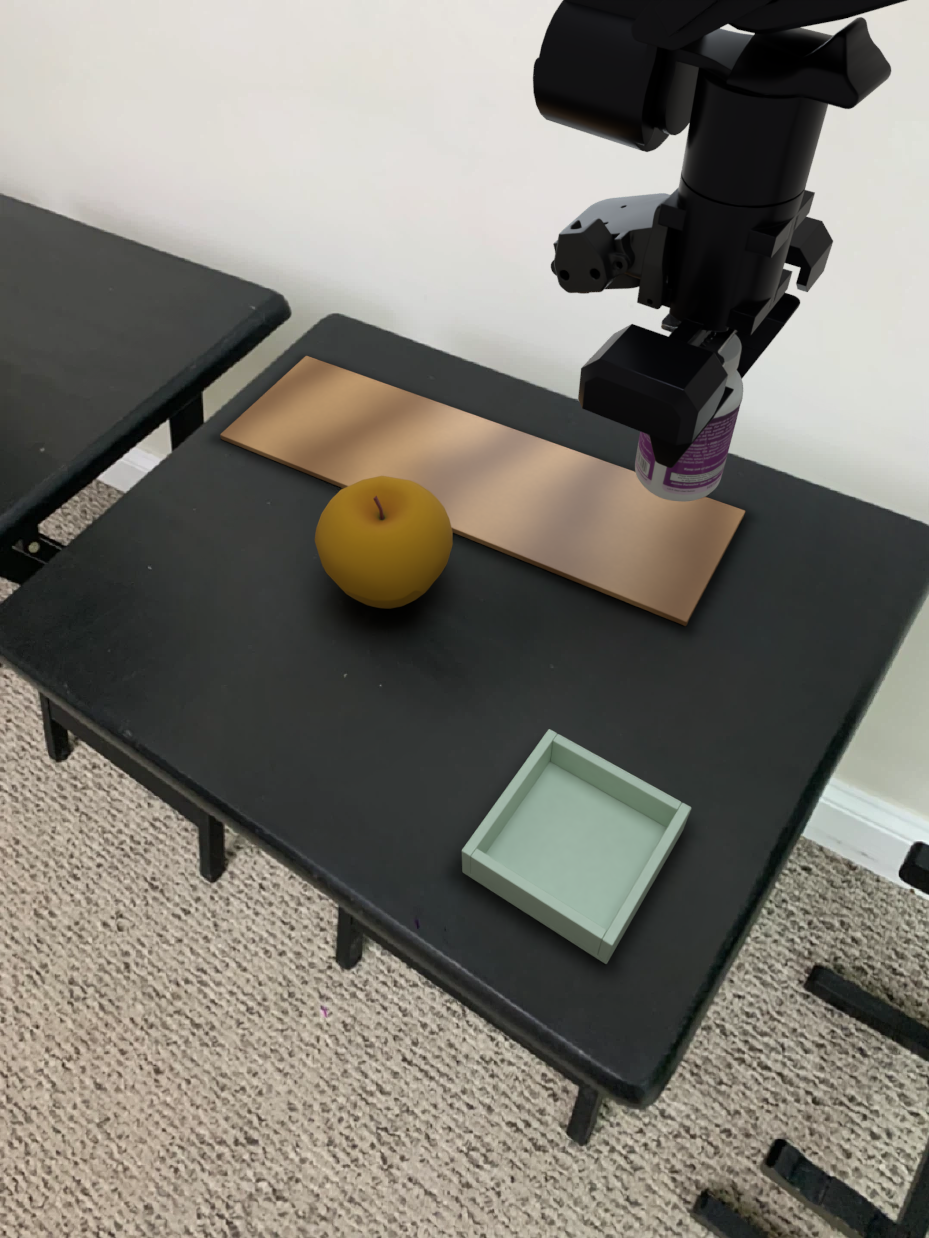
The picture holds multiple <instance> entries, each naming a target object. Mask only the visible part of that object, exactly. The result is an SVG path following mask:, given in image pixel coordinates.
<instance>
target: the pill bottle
mask: <svg viewBox="0 0 929 1238" xmlns="http://www.w3.org/2000/svg"><path fill="white" fill-rule="evenodd" d="M671 333H672V332H669V335H668V336H670V334H671ZM719 354H720V355H721V356H723V358H724V359H725V363H724V369H725V370H726V372H727V374H728V378H727V382H726V386H727V387H729V388H732V389H734V391H733V393H732V395H731V396H730V397H729V398H728V400H727V401H726V402H725V404H724V405H723V406H722V408H721V409H720V410H719V411H718V413H717V414H716V415H715V417H714V418H713V419H712V420H711V421H710V423H709V424H708V425H707V426H706V428H705V429H704V430H703V431H702V432H701V434H700V435H699V436H698V437H697V439H696V440H695V441H694V442H693V443H692V444H691V446H690V447H689V448H688V449H687V451H686V452H685V453H684V454H683V456H682V457H681V458H680V459H679V461H678V462H677V463H676V464H675V466H674V467H673V468H668V467H666V466H663V465H661V464H658V463H657V462H656V461H655V458H654V454H653V449H652V445H651V441H650V437H649V435H648V434H645V433H643V432H640V431H639V436H638V443H637V447H636V448H637V449H636V454H635V455H636V456H635V462H634V472H636V475H637V478H638V479H639V481H640V482H641V483H642V485H643V486H644V487H645V488H646V489H647V490H649V491H650V492H651V493H653V494H654V495H656V496H658V497H660V498H663V499H667V500H672V501H693V500H697V499H700V498H703V497H707V496H709V495H710V494H711V493H713V492H714V490H716V489H717V487H718V486H719V485H720V482H721V479H722V477H723V473H724V469H725V466H726V462H727V458H728V454H729V451H730V447H731V444H732V439H733V435H734V431H735V428H736V424H737V420H738V415H739V411H740V409H741V404H742V403H743V402H742V401H743V397H744V382H743V378H742V379H741V376H740V374H739V373H738V371H737V368H738V365H739V359H740V354H741V342H740V340H739V338H738V337H737V336H736V335H734V336H733V337H732V338H731V340H730V341H729V342H728V343H727V345H726V346H725V347H724V348H723V349H722V351H721V352H720V353H719Z"/></svg>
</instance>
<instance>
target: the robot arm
mask: <svg viewBox="0 0 929 1238" xmlns="http://www.w3.org/2000/svg"><path fill="white" fill-rule="evenodd" d="M907 1H908V0H561V2H560V4H559V5H558V6H557V8H556V10H555V12H554V13H553V15H552V17H551V19H550V21H549V22H548V23H549V24H548V25H547V28H546V30H545V33H544V36H543V39H542V43H541V45H540V51H539V55H538V57H536V59H535V60H534V62H533V71H532V89H533V91H532V92H533V97H534V102H535V107H536V108H537V110H538V112H539V114H540V115H541V116H542V117H543V118H544V119H545V120H546V121H549V122H552V123H555V124H558V125H562V126H564V127H567V128H571V129H574V130H576V131H580V132H583V133H586V134H588V135H589V134H590V135H593V136H595V137H597V138H600V139H601V138H602V139H604V140H608V141H611V142H613V143H616V144H620V145H623V146H626V147H628V148H632V149H635V150H637V151H641V152H645V153H649V152H653V151H655V150H656V149H658V148H660V147H661V145H663V143H664V142H665V141H666V140H667V139H668V138H669V137H670V136H677V135H679V134H681V133H682V132H683V131H684V130H685V129H687V127H688V130H687V135H686V140H685V147H684V154H683V159H682V166H681V172H680V177H679V183H678V187H677V188H676V189H675V190H674V191H673V192H672V193H671V194H669V193H664V192H663V193H661V192H660V193H649V194H639V195H629V196H619V197H618V196H617V197H610V198H605V199H602V200H598V201H596V202H595V203H592V204H590V206H588V207H587V208H585V210H584V211H582V212H581V213H580V214H579V215H578V216H577V217H576V218H575V219H573V220H572V221H571V222H570V223H569V224H568V225H566V227H565V228H563V229H562V230H561V232H559V233H558V236H557V240H555V242H554V243H553V249H554V258H553V260H552V261H551V263H550V270H551V272H552V274H554V275H555V276H556V278H557V283H558V285H559V287H560V288H561V289H563V291H565V292H566V293H568V294H583V295H584V294H587V295H588V294H590V293H591V294H592V293H602V292H604V290H623V289H624V290H630V289H636V288H638V291H637V300H636V303H637V304H639V305H643V306H645V307H648V308H651V309H654V310H660V309H661V308H662V307H666V308H669V309H668V313H667V314H666V315H665V317H664V318H663V319H662V320H661V322H660V323H661V324H660V329H662V330H664V331H666V332H668V333H669V335H670V336H669V335H666V334H663V333H660V332H657V331H654V330H652V329H648V328H646V327H642V326H640V325H637V324H634V323H631V324H628V325H627V326H625V327H623V328H622V329H620V330H618V331H616V332H614V333H613V334H612V335H611V336H610V337H609V338H608V339H607V340H606V341H605V342H604V343H603V344H602V345H601V347H600V348H599V349H598V350H597V351H596V352H594V354H593V355H592V356H591V357H590V358H589V359H588V360H587V361H586V362H585V363H584V365H582V367H581V368H580V375H579V386H578V395H577V396H578V397H577V400H578V402H579V404H580V406H581V407H580V408H581V409H582V410H585V411H587V412H590V413H592V414H594V415H598V416H600V417H603V418H605V419H607V420H610V421H613V422H615V423H618V424H620V425H623V426H625V427H628V428H630V429H633V430H636V431H638V432H639V433H640V432H643V433H645V434H648V435H649V437H650V441H651V445H652V449H653V454H654V458H655V461H656V462H657V463H658V464H661V465H663V466H666V467H668V468H673V467H674V466H675V464H676V463H677V462H678V461H679V459H680V458H681V457H682V456H683V454H684V453H685V452H686V451H687V449H688V448H689V447H690V446H691V444H692V443H693V442H694V441H695V440H696V439H697V437H698V436H699V435H700V434H701V432H702V431H703V430H704V429H705V428H706V426H707V425H708V424H709V423H710V421H711V420H712V419H713V418H714V417H715V415H716V414H717V413H718V411H719V410H720V409H721V408H722V406H723V405H724V404H725V402H726V401H727V400H728V398H729V397H730V396H731V395H732V393H733V391H734V389H732V388H729V387H727V386H726V382H727V378H728V374H727V372H726V370H725V369H724V363H725V359H724V358H723V356H721V355H720V354H719V353H720V352H721V351H722V349H723V348H724V347H725V346H726V345H727V343H728V342H729V341H730V340H731V338H732V337H733V336H734V335H736V336H737V337H738V338H739V340H740V342H741V354H740V359H739V365H738V368H737V371H738V373H739V374H740V376H741V379H742V380H743V378H744V377H745V376H746V374H748V372H749V371H750V369H751V368H752V367H753V366H754V365H755V364H756V362H757V361H758V359H759V358H760V357H761V356H762V354H763V353H764V352H765V351H766V350H767V348H768V347H769V346H770V345H771V343H772V342H773V341H774V339H775V338H776V337H777V336H778V335H779V333H780V332H781V331H782V330H783V329H784V327H785V325H786V324H787V323H788V322H789V321H790V319H791V318H792V317H793V315H794V314H795V313H796V311H797V310H798V309H799V307H800V305H801V299H800V298H799V297H798V296H796V295H794V294H791V293H788V292H787V291H788V289H789V287H790V286H789V285H790V283H791V279H792V275H793V272H794V271H793V270H790V269H786V268H784V267H785V264H787V265H789V266H794V267H796V268H799V272H798V275H797V278H796V282H795V285H796V289H797V290H799V291H802V292H805V293H809V291H810V290H811V289H812V287H814V284H815V283H817V281H818V280H819V278H820V277H821V275H822V274H824V272H825V268H826V266H827V262H828V259H829V256H830V254H831V249H832V247H833V243H834V240H833V238H832V236H831V234H830V232H829V231H828V229H827V227H826V225H825V224H824V222H823V220H821V219H816V218H814V217H810V216H808V215H809V214H810V212H811V208H812V205H813V201H814V197H815V194H816V192H814V191H811V190H807V189H806V187H807V184H808V180H809V176H810V172H811V169H812V166H813V162H814V159H815V154H816V151H817V147H818V143H819V140H820V137H821V132H822V130H823V126H824V122H825V118H826V114H827V111H828V107H829V106H833V107H837V108H841V109H844V110H851V109H853V108H856V106H858V104H859V103H861V102H862V101H863V100H865V99H866V98H867V97H868V96H869V95H871V94H872V93H873V92H874V91H876V90H877V89H878V88H879V87H880V86H881V85H882V84H884V83H885V82H886V81H887V80H889V78H890V77H891V74H892V66H891V64H890V62H889V61H888V59H887V58H886V56H885V54H884V53H883V52H882V50H881V49H880V48H879V46H877V44H876V43H875V42H874V41H873V39H872V37H871V34H870V31H869V27H868V22H867V20H866V18H864V17H862V16H860V15H863V14H866V13H869V12H874V11H876V10H880V9H883V8H886V7H887V8H888V7H890V6H894V5H897V4H900V3H904V2H907ZM856 16H860V17H856ZM854 17H856V18H854ZM850 18H854V19H853V20H852V21H850V22H849V23H848V24H847V25H845V26H844V27H842V28H841V29H839V30H838V31H837V32H836V33H835V34H833V35H832V34H829V33H824V32H821V31H815V30H812V29H808V28H805V27H812V26H816V25H822V24H826V23H827V24H828V23H833V22H837V21H842V20H845V19H850ZM727 25H729V26H731V27H732V28H734V29H736V30H738V31H741V32H737V31H733V30H729V29H728V30H727V29H724V28H723V27H725V26H727ZM742 32H746V33H742ZM749 33H751V34H749ZM671 332H672V333H671ZM670 333H671V334H670Z"/></svg>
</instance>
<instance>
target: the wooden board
mask: <svg viewBox="0 0 929 1238" xmlns="http://www.w3.org/2000/svg"><path fill="white" fill-rule="evenodd" d="M219 438H220V439H221V440H222V441H225V442H227V443H229V444H232V445H235V446H237V447H240V448H242V449H245V450H247V451H249V452H252V453H255V454H257V455H259V456H262V457H265V458H267V459H269V460H272V461H275V462H277V463H278V464H282V465H284V466H287V467H289V468H292V469H293V470H297V471H299V472H302V473H304V474H306V475H309V476H311V477H314V478H317V479H319V480H322V481H324V482H327V483H329V484H331V485H333V486H337V487H338V488H341V489H344V488H346V487H348V486H350V485H352V484H354V483H357V482H359V481H361V480H364V479H369V478H373V477H378V476H387V477H393V478H399V479H405V480H411V481H413V482H415V483H418V484H419V485H421V486H422V487H424V488H425V489H427V490H428V491H430V492H431V493H432V494H433V495H434V496H435V497H436V498H437V499H438V500H439V501H440V503H441V504H442V505H443V506H444V508H445V510H446V512H447V515H448V517H449V520H450V523H451V527H452V533H453V534H455V535H457V536H460V537H464V538H466V539H469V540H471V541H473V542H476V543H478V544H480V545H483V546H485V547H488V548H491V549H493V550H496V551H498V552H499V553H503V554H505V555H507V556H510V557H513V558H515V559H518V560H520V561H523V562H525V563H528V564H531V565H532V566H535V567H538V568H540V569H542V570H545V571H548V572H550V573H551V574H555V575H557V576H560V577H562V578H565V579H568V580H570V581H572V582H575V583H577V584H580V585H582V586H585V587H587V588H590V589H591V590H595V591H597V592H599V593H602V594H604V595H607V596H610V597H612V598H614V599H617V600H620V601H622V602H625V603H627V604H629V605H632V606H635V607H637V608H638V609H642V610H644V611H647V612H649V613H652V614H654V615H657V616H659V617H662V618H664V619H666V620H669V621H671V622H674V623H677V624H679V625H682V626H684V627H686V626H687V625H688V623H689V622H690V619H691V617H692V615H693V614H694V612H695V610H696V608H697V606H698V604H699V602H700V600H701V599H702V596H703V595H704V592H705V591H706V589H707V587H708V585H709V583H710V581H711V580H712V578H713V576H714V574H715V572H716V570H717V568H718V566H719V564H720V563H721V561H722V558H723V556H724V555H725V553H726V551H727V549H728V547H729V545H730V544H731V542H732V540H733V537H734V536H735V534H736V532H737V530H738V528H739V526H740V524H741V523H742V521H743V519H744V517H745V515H746V510H745V509H742V508H738V507H736V506H733V505H730V504H727V503H725V502H721V501H719V500H716V499H713V498H710V497H707V496H705V497H703V498H700V499H697V500H693V501H672V500H667V499H663V498H660V497H658V496H656V495H654V494H653V493H651V492H650V491H649V490H647V489H646V488H645V487H644V486H643V485H642V483H641V482H640V481H639V479H638V478H637V475H636V472H635V470H631V469H628V468H626V467H623V466H619V465H618V464H614V463H611V462H609V461H605V460H603V459H601V458H597V457H594V456H592V455H590V454H586V453H583V452H580V451H577V450H574V449H572V448H569V447H566V446H563V445H561V444H558V443H554V442H552V441H550V440H547V439H543V438H540V437H537V436H536V435H532V434H529V433H527V432H524V431H521V430H518V429H514V428H512V427H509V426H507V425H504V424H501V423H498V422H495V421H492V420H490V419H487V418H485V417H482V416H478V415H476V414H473V413H470V412H467V411H464V410H461V409H459V408H456V407H453V406H450V405H447V404H445V403H442V402H439V401H436V400H433V399H430V398H428V397H425V396H422V395H419V394H416V393H413V392H410V391H408V390H404V389H403V388H399V387H396V386H393V385H390V384H388V383H385V382H382V381H380V380H376V379H374V378H371V377H368V376H365V375H362V374H360V373H358V372H357V373H356V372H354V371H351V370H348V369H345V368H342V367H339V366H337V365H334V364H332V363H328V362H326V361H323V360H320V359H317V358H315V357H312V356H308V355H305V356H304V357H303V358H301V359H300V360H299V362H298V363H296V364H295V365H294V366H293V367H292V368H291V369H290V370H289V371H288V372H286V373H285V374H284V375H283V376H282V377H281V378H280V379H279V380H277V381H276V383H274V385H272V386H271V387H270V388H269V389H268V390H267V391H266V392H265V393H263V394H262V396H260V397H259V398H258V399H257V400H256V401H255V402H254V403H253V404H252V405H251V406H249V408H247V409H246V410H245V411H244V412H243V413H242V414H240V416H239V417H237V418H236V419H235V420H234V421H233V422H232V423H231V424H230V425H229V426H228V427H226V428H225V429H224V430H222V432H221V433H220V434H219Z"/></svg>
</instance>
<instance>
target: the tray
mask: <svg viewBox="0 0 929 1238" xmlns="http://www.w3.org/2000/svg"><path fill="white" fill-rule="evenodd" d="M691 811H692V807H691V806H690V805H688V804H686V803H685V802H682V801H680V800H679V799H677V798H675V797H673V796H671V795H670V794H668V793H667V792H664V791H663V790H660V789H659V788H657V787H655V786H653V785H652V784H650V783H648V782H646V781H645V780H643V779H640V778H639V777H637V776H635V775H634V774H632V773H630V772H628V771H627V770H624V769H622V768H621V767H619V766H617V765H615V764H613V763H612V762H610V761H608V760H606V759H604V758H603V757H601V756H599V755H598V754H596V753H595V752H592V751H590V750H588V749H587V748H584V747H583V746H581V745H579V744H578V743H576V742H574V741H572V740H571V739H569V738H567V737H565V736H563V735H561V734H559V733H557V732H556V731H554V730H552V729H550V728H549V729H547V731H546V732H545V733H544V735H543V736H542V738H541V739H540V741H539V742H538V744H537V745H536V746H535V747H534V749H533V750H532V752H531V753H530V755H529V756H528V757H527V759H526V760H525V762H524V763H523V764H522V766H521V767H520V769H519V770H518V771H517V773H516V774H515V775H514V777H513V778H512V779H511V780H510V782H509V784H508V785H507V786H506V788H505V789H504V791H503V792H502V793H501V795H500V796H499V798H498V799H497V800H496V801H495V803H494V804H493V806H492V807H491V809H490V810H489V812H488V813H487V814H486V816H485V817H484V819H482V821H481V823H480V824H479V825H478V827H477V828H476V830H475V831H474V833H473V834H472V835H471V836H470V838H469V839H468V841H467V842H466V844H465V845H464V846H463V847H462V849H461V866H462V867H461V868H462V870H461V871H462V873H463V874H464V875H466V876H467V877H469V878H471V879H472V880H474V881H475V882H477V883H478V884H480V885H482V886H483V887H484V888H486V889H488V890H490V891H491V892H492V893H494V894H495V895H497V896H499V897H500V898H501V899H503V900H505V901H506V902H508V903H510V904H511V905H513V906H514V907H516V908H517V909H519V910H521V911H522V912H523V913H525V914H527V915H528V916H529V917H531V918H533V919H534V920H536V921H538V922H539V923H541V924H542V925H544V926H546V927H547V928H549V929H550V930H551V931H553V932H555V933H556V934H558V935H559V936H561V937H562V938H564V939H565V940H568V941H569V942H570V943H572V944H573V945H575V946H576V947H578V948H579V949H581V950H582V951H584V952H586V953H587V954H589V955H590V956H592V957H594V958H595V959H597V960H599V961H600V962H601V963H603V964H605V965H607V964H608V963H609V961H610V960H611V958H612V956H613V955H614V952H615V950H616V949H617V946H618V945H619V943H620V941H621V940H622V938H623V936H624V935H625V933H626V931H627V929H628V928H629V926H630V924H631V922H632V920H633V919H634V917H635V915H636V914H637V912H638V910H639V908H640V906H641V905H642V903H643V901H644V899H645V898H646V896H647V894H648V893H649V891H650V889H651V887H652V886H653V884H654V883H655V880H656V879H657V877H658V876H659V873H660V872H661V870H662V868H663V867H664V864H665V863H666V861H667V859H668V858H669V856H670V854H671V852H672V851H673V849H674V848H675V845H676V844H677V842H678V841H679V838H681V835H682V834H683V831H684V829H685V827H686V824H687V821H688V818H689V816H690V814H691Z"/></svg>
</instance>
